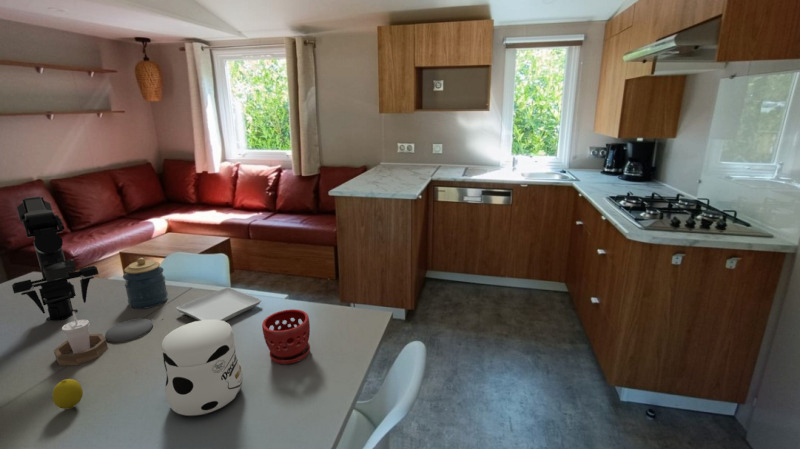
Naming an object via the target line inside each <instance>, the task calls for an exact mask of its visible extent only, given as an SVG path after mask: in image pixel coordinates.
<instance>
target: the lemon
mask: <svg viewBox="0 0 800 449" xmlns="http://www.w3.org/2000/svg"><path fill="white" fill-rule="evenodd" d="M82 397H83V388H82V385H81V383H80V382H78V380H76V379H72V378H67V379H65V378H64V379H62V380H61V381H60V382H58V383H57V384H56V385H55V386H54V388H53V391H52V401H53V403H54V405H55V406H56V407H58V408H59V409H63V410H65V409H66V410H68V409H73V408H74V407H75V406H77V404H79V403H80V401H81V400H82Z"/></svg>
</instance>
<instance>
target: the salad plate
mask: <svg viewBox="0 0 800 449" xmlns="http://www.w3.org/2000/svg"><path fill="white" fill-rule="evenodd" d="M261 302H262V299H260V298H259V297H256V296H253V295H251V294H250V295H249V294H247V293H244V292H242V291H240V290H237V289H234V288H231V287H224V288H222V289H219V290H216V291H214V292H210V293H208V294H206V295H203V296H201V297H198V298H196V299H193V300H191V301H189V302H188V301H187V302H186V303H183V304H181V305H178V306H176V307H175V310H177V311H178V312H180V313H182V314H183V315H187V316H188V317H191V318H193V319H195V320H196V321H201V320H215V319H216V320H221V321H225V322H226V321H228V320H231V319H233V318H235V317H236V316H238V315H240V314H243V313H244V312H246V311H249V310H251V309H254V308H255V307H257V306H258V305H260V304H261Z"/></svg>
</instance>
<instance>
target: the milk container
mask: <svg viewBox="0 0 800 449" xmlns="http://www.w3.org/2000/svg"><path fill="white" fill-rule="evenodd" d="M161 347H162V348H161V350H162V357H163V364H164V368H165V373H166V381H165V388H164V391H165V398H166V401H167V404H168V405H169V407H170V409H171V410H172V411H173V412H175V413H176V414H178V415H180V416H184V417H199V416H200V417H201V416H205V415H207V414H211V413H215V412H216V411H218V410H220V409H223V408H225V407H226V406H227V405H228V404H230V403H232V402H233V401H234V400H235V399H236V397H237V396H238V395H239V394H240V391H241V389H242V387H243V381H244V380H243V378H244V376H243V375H244V374H243V369H242V365H241V364H240V361H239V360H238V357H237V353H236V343H235V336H234V332H233V328H232V327H231V325H230V323H229V322H226V321H221V320H216V319H215V320H201V321H199V320H195V321H192V322H189V323H185V324H183V325H180V326H179V327H176V328H175V329H173V330H172V331H170V332H169V333H167V335H165V337H164V338H163V340H162V341H161Z"/></svg>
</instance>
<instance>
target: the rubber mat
mask: <svg viewBox="0 0 800 449" xmlns="http://www.w3.org/2000/svg"><path fill="white" fill-rule="evenodd" d="M153 327H154V326H153V322H152V320H151V319H148V318H134V319H129V320H125V321H121V322H119V323H117V324H115V325H113V326H111V327H109V329H107V331H105V334H104V338H105V339H106V341H108V342H111V343H123V342H129V341H133V340H136V339H138V338H141V337H143V336H145V335H146V334H148V333H149V332H151V330H152V329H153Z"/></svg>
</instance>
